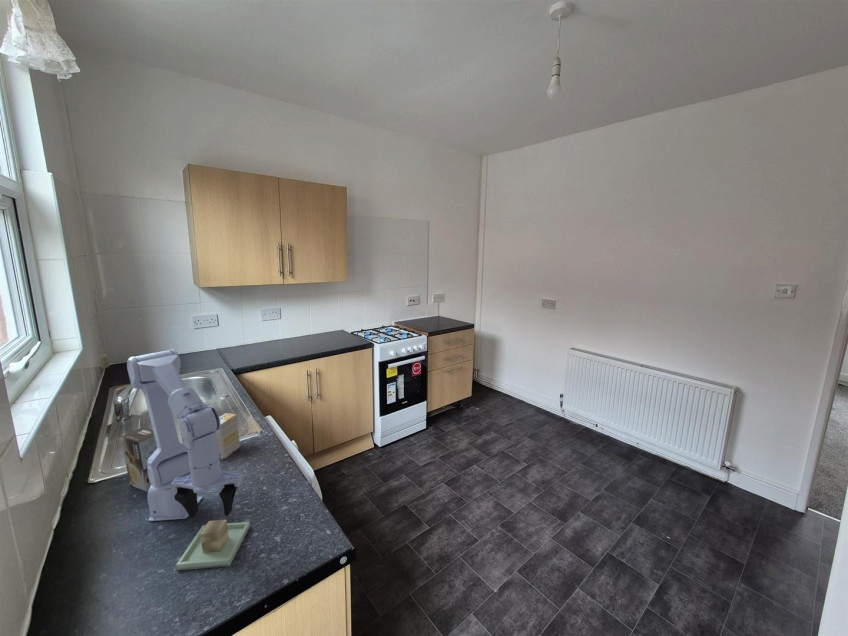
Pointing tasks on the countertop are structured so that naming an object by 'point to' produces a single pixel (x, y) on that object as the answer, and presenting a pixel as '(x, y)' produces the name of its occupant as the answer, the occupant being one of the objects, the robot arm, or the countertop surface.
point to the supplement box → (227, 435)
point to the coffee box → (138, 456)
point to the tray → (198, 559)
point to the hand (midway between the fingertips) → (211, 513)
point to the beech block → (214, 536)
